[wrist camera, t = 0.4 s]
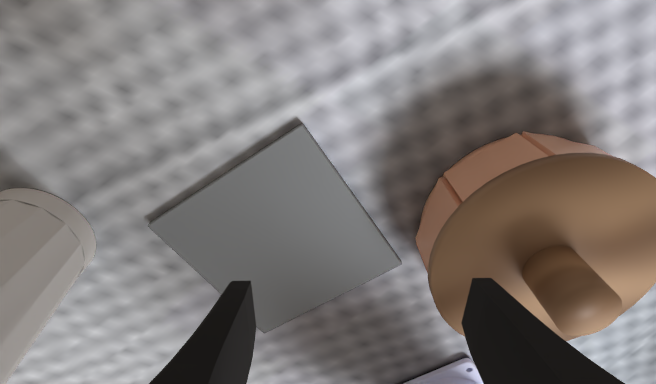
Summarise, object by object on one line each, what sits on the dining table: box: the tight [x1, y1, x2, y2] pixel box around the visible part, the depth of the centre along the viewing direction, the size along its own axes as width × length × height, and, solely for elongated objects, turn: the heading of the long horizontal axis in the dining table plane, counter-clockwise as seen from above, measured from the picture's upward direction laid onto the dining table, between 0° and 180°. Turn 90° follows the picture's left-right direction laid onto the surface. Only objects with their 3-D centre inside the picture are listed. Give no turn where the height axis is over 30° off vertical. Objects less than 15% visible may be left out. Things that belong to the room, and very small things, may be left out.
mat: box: [148, 123, 402, 333], centre depth 23 cm, size 11×11×1 cm
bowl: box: [415, 131, 611, 273], centre depth 21 cm, size 11×11×4 cm
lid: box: [428, 153, 656, 341], centre depth 18 cm, size 12×12×4 cm
